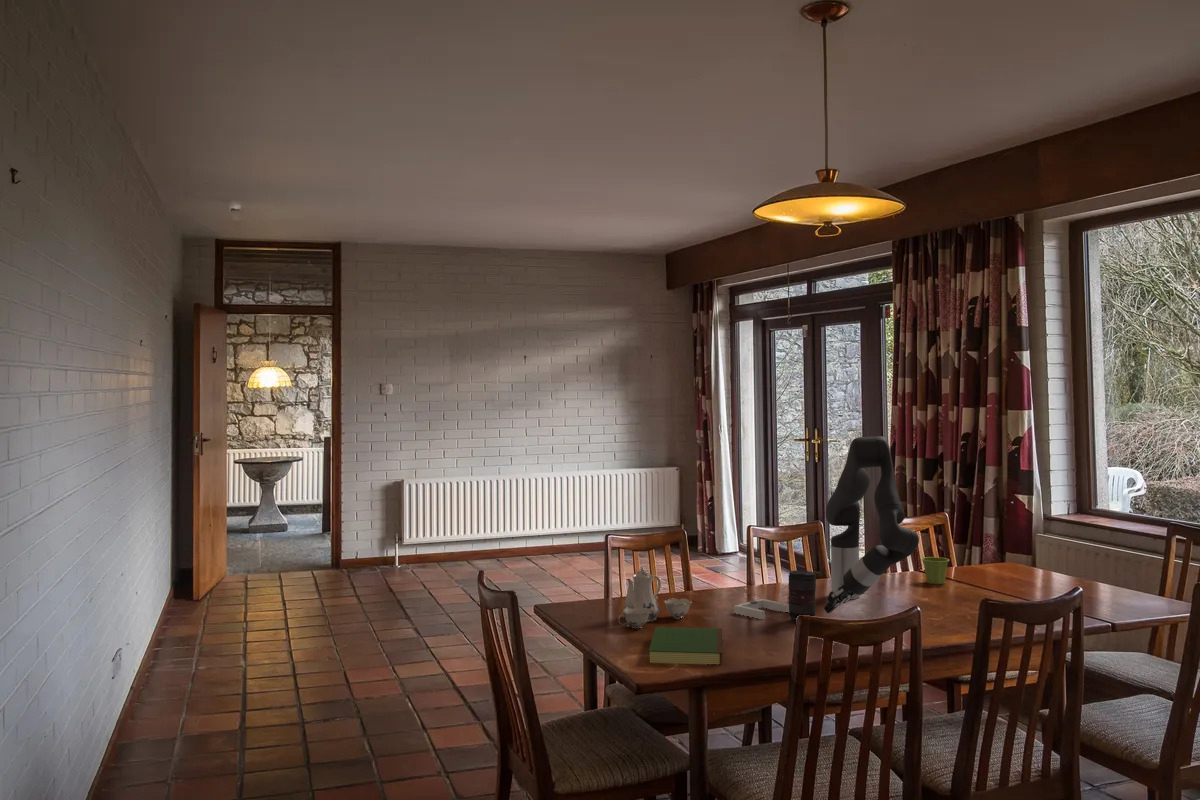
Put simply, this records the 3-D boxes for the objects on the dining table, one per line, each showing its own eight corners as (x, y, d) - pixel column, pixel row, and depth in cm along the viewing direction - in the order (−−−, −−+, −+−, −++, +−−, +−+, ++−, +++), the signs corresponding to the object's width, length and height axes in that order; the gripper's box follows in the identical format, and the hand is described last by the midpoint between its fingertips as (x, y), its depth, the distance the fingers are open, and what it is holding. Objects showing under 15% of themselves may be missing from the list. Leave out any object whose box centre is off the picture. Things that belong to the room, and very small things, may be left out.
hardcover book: (721, 667, 238) (721, 652, 238) (648, 665, 241) (648, 650, 241) (722, 641, 263) (722, 627, 263) (656, 639, 266) (655, 626, 266)
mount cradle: (761, 606, 302) (761, 596, 302) (789, 612, 294) (789, 602, 294) (734, 613, 293) (734, 603, 293) (761, 619, 285) (761, 609, 285)
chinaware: (638, 639, 270) (642, 583, 268) (597, 624, 281) (600, 570, 280) (698, 621, 290) (702, 569, 289) (657, 607, 301) (661, 557, 300)
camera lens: (816, 625, 277) (816, 575, 277) (788, 624, 279) (788, 574, 278) (815, 618, 285) (815, 570, 285) (788, 617, 286) (788, 569, 286)
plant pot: (916, 581, 338) (916, 557, 338) (939, 579, 341) (939, 556, 341) (931, 586, 329) (931, 562, 329) (954, 584, 332) (954, 560, 332)
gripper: (867, 561, 272) (832, 596, 282) (841, 567, 263) (806, 603, 273) (883, 582, 268) (847, 617, 278) (858, 589, 260) (821, 625, 269)
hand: (826, 610), depth 275 cm, fingers closed
